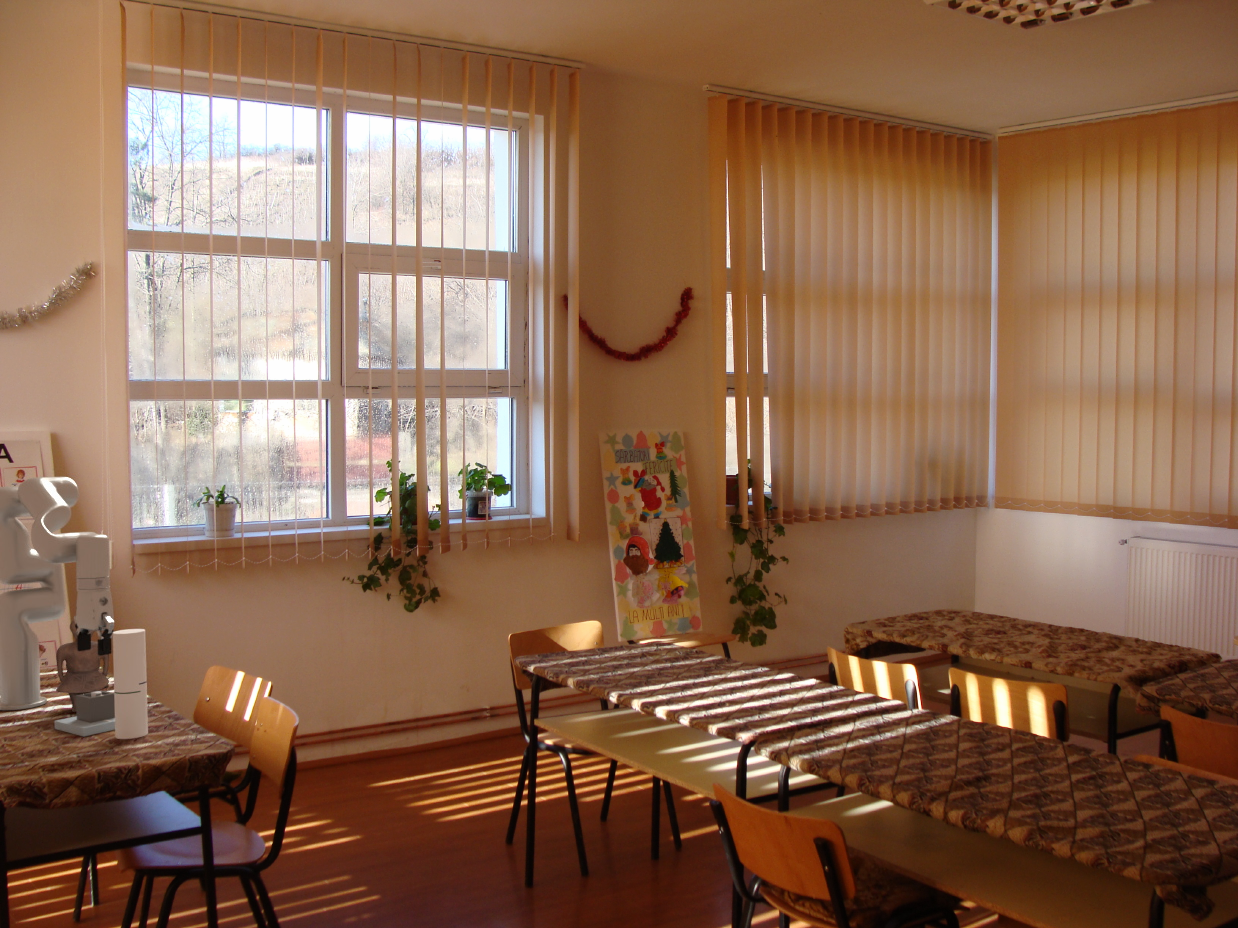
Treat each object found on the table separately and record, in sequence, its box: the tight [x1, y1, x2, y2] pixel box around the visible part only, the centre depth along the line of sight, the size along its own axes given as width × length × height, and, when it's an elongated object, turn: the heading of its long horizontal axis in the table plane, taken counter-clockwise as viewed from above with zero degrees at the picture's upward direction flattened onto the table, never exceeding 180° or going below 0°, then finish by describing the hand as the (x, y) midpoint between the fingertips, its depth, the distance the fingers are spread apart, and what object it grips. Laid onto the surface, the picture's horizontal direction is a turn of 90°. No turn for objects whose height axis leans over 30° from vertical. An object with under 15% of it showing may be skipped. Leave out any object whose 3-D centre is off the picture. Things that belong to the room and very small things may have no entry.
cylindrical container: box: [112, 628, 149, 740], centre depth 257 cm, size 7×7×25 cm
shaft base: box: [54, 690, 115, 737], centre depth 267 cm, size 14×14×8 cm
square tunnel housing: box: [75, 690, 115, 723], centre depth 267 cm, size 7×7×6 cm
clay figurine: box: [55, 619, 110, 713], centre depth 286 cm, size 13×10×25 cm
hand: (94, 652), depth 267 cm, fingers open, 9 cm apart
